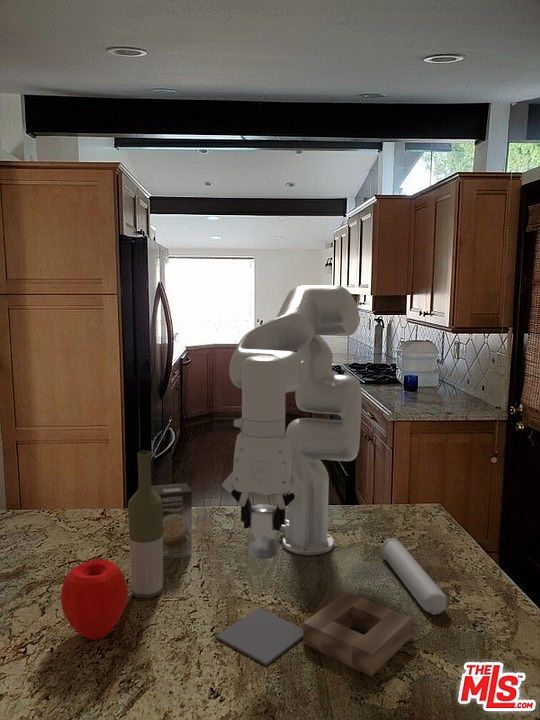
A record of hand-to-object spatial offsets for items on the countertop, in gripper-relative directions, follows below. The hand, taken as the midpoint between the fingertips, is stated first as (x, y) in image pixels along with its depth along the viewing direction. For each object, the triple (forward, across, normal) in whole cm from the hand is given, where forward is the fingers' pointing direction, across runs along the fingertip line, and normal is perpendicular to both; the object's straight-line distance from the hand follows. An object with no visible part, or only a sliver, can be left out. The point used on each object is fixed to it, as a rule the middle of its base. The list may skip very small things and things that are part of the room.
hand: (263, 525), depth 105 cm
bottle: (+21, -26, +10) cm, 35 cm away
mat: (+21, 0, 0) cm, 21 cm away
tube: (+22, +28, +24) cm, 43 cm away
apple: (+21, -30, -4) cm, 37 cm away
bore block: (+21, +17, +2) cm, 27 cm away
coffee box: (+21, -27, +28) cm, 45 cm away
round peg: (+5, 0, 0) cm, 5 cm away
